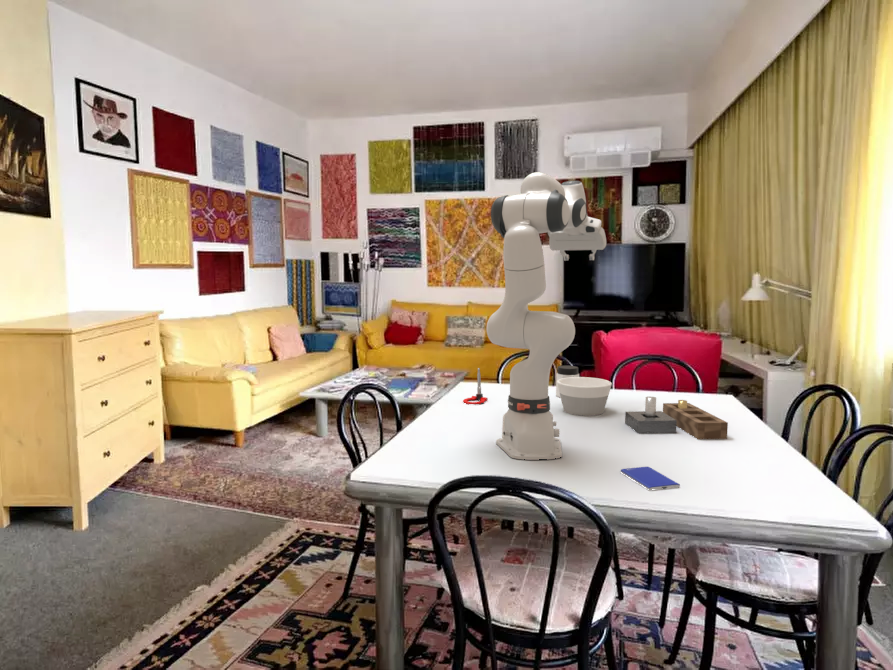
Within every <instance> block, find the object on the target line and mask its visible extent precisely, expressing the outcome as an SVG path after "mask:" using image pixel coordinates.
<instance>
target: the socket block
mask: <svg viewBox="0 0 893 670" xmlns="http://www.w3.org/2000/svg"><path fill="white" fill-rule="evenodd" d="M624 424H625V425H626V424H627V425H626V426H628V427H629V426H630V427H631V428H630V427H629V428H630V429H631V430H633V429H634V430H635V431H634V430H633V431H634V432H636V434H638V433H639V434H676V433H677V426H676V425H677V420H675V419H673V418H672V417H670V416H668V415H667V414H665V413H663V410H656V418H646V417H645V410H643V411H641V410H640V411H625V416H624Z"/></svg>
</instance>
